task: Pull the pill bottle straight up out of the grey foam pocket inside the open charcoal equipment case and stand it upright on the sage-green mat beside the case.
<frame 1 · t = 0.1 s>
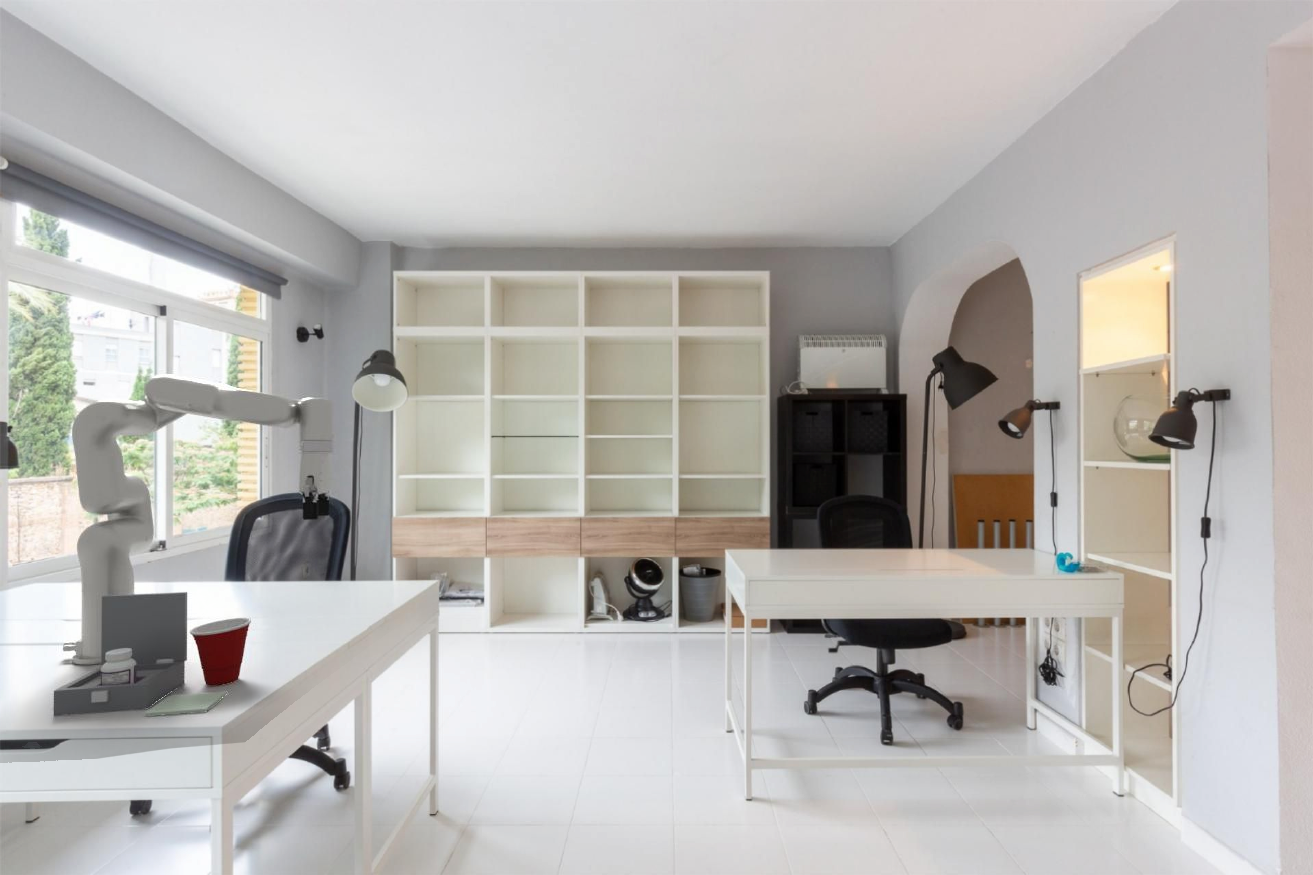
hand: (316, 517, 166), 31 cm above the table, tool pointing down, fingers open, 9 cm apart
pill bottle: (118, 702, 129), resting in equipment case
equipment case: (123, 698, 130), on the table
sage mat: (187, 705, 126), on the table
plastic cup: (220, 682, 139), on the table
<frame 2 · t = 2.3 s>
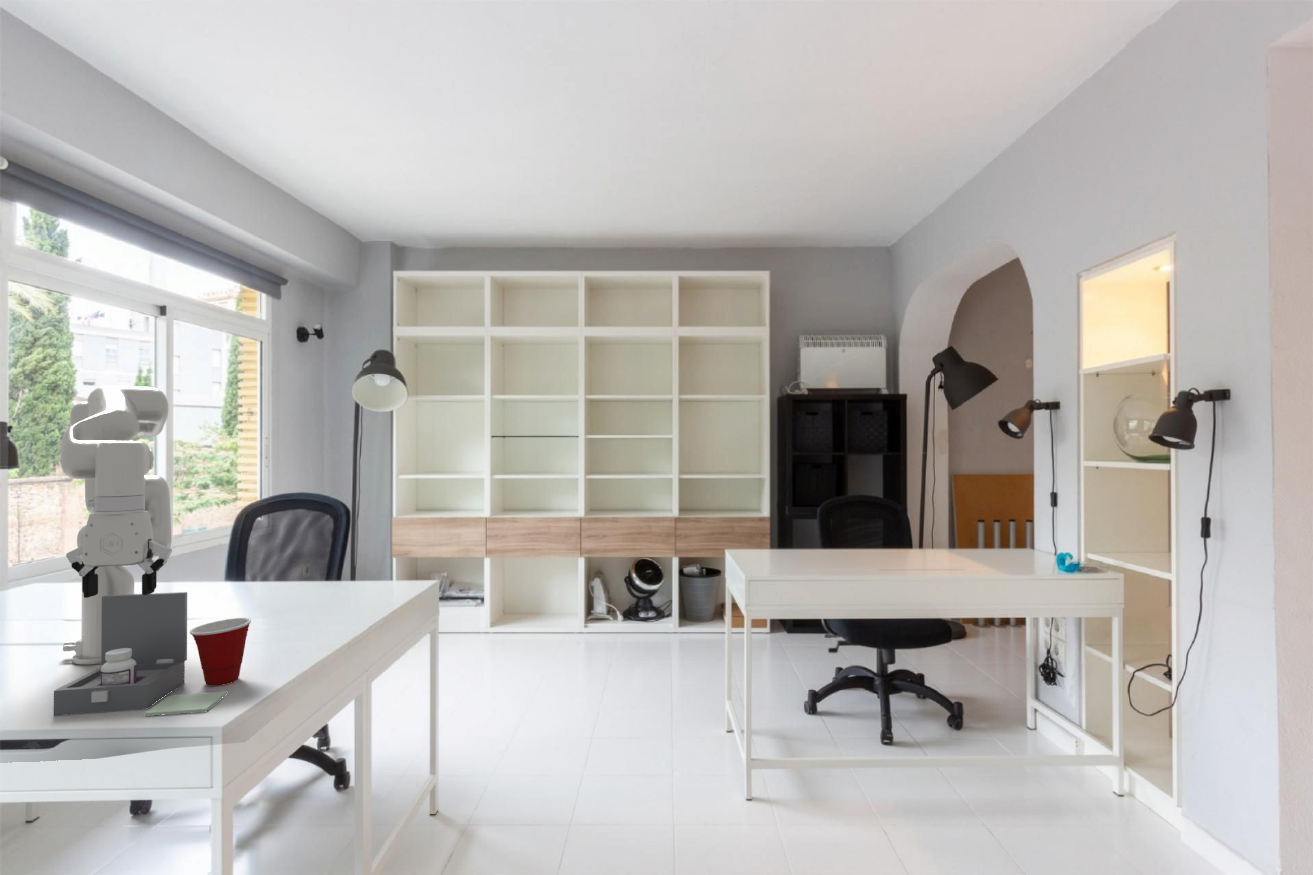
hand: (119, 594, 129), 20 cm above the table, tool pointing down, fingers open, 9 cm apart
nothing on the table moved.
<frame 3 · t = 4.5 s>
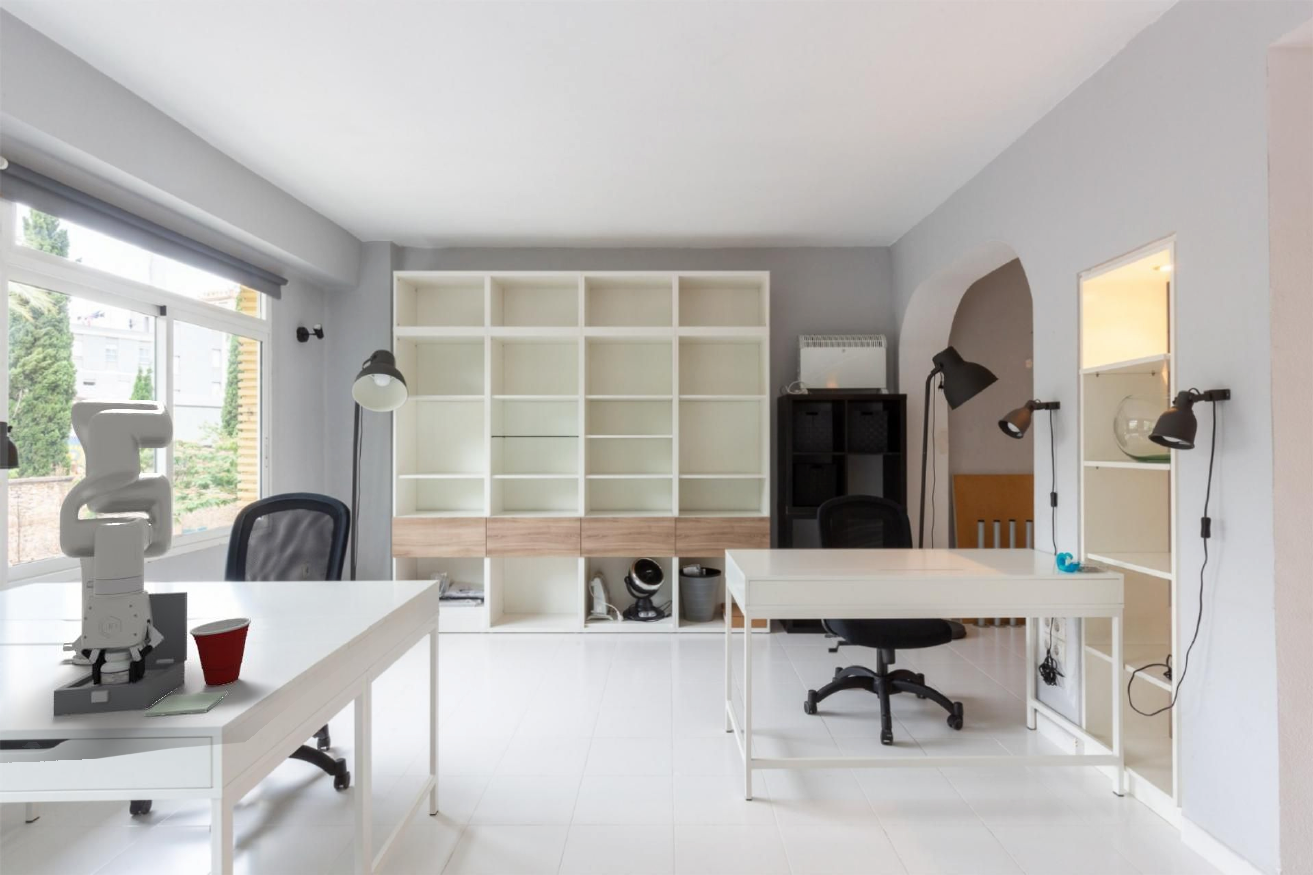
hand: (118, 680, 129), 4 cm above the table, tool pointing down, fingers closed on pill bottle, 5 cm apart
pill bottle: (118, 702, 129), resting in equipment case, touching gripper
everything else where it was.
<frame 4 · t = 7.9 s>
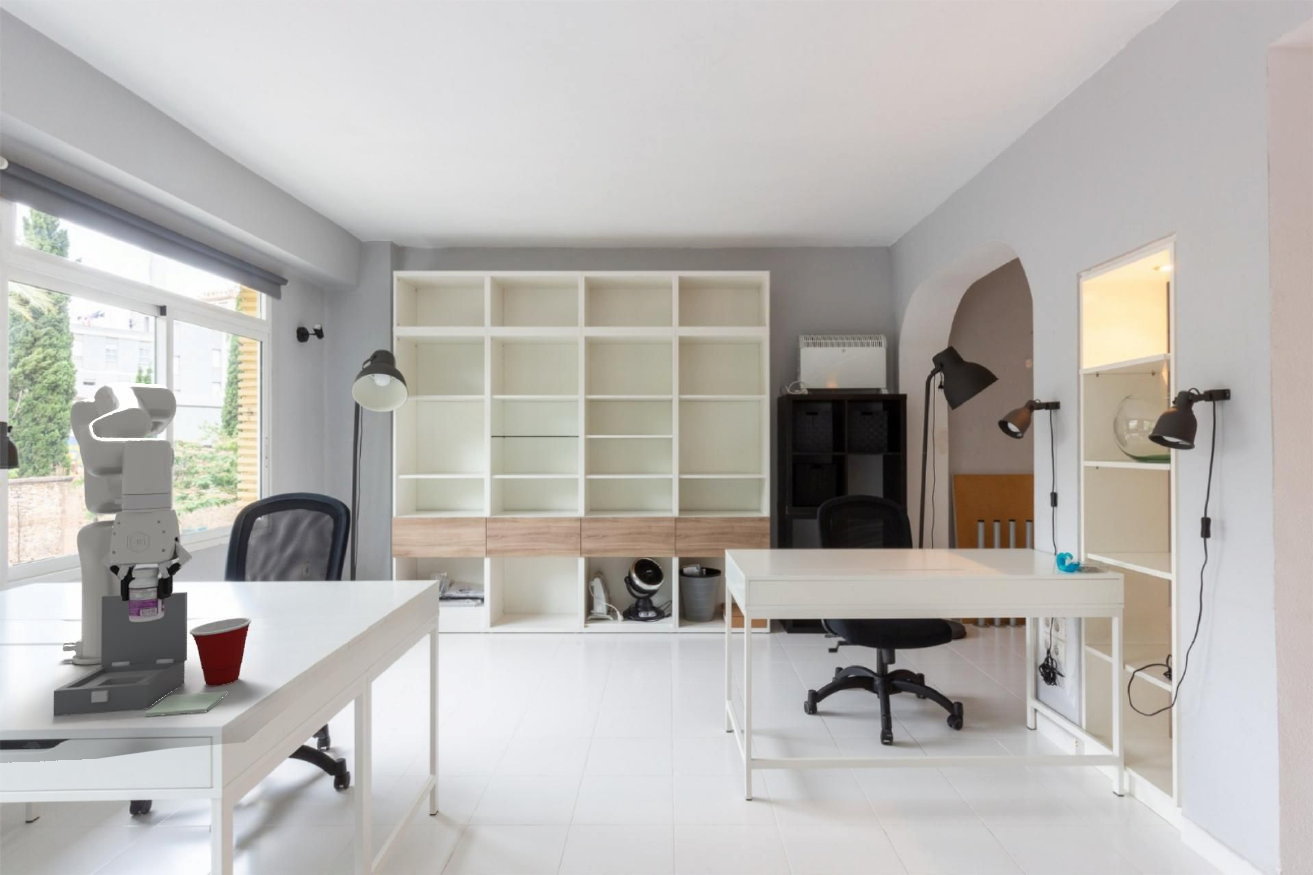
hand: (146, 597, 128), 20 cm above the table, tool pointing down, fingers closed on pill bottle, 5 cm apart
pill bottle: (146, 620, 128), point 16 cm above the table, touching gripper
everything else where it was.
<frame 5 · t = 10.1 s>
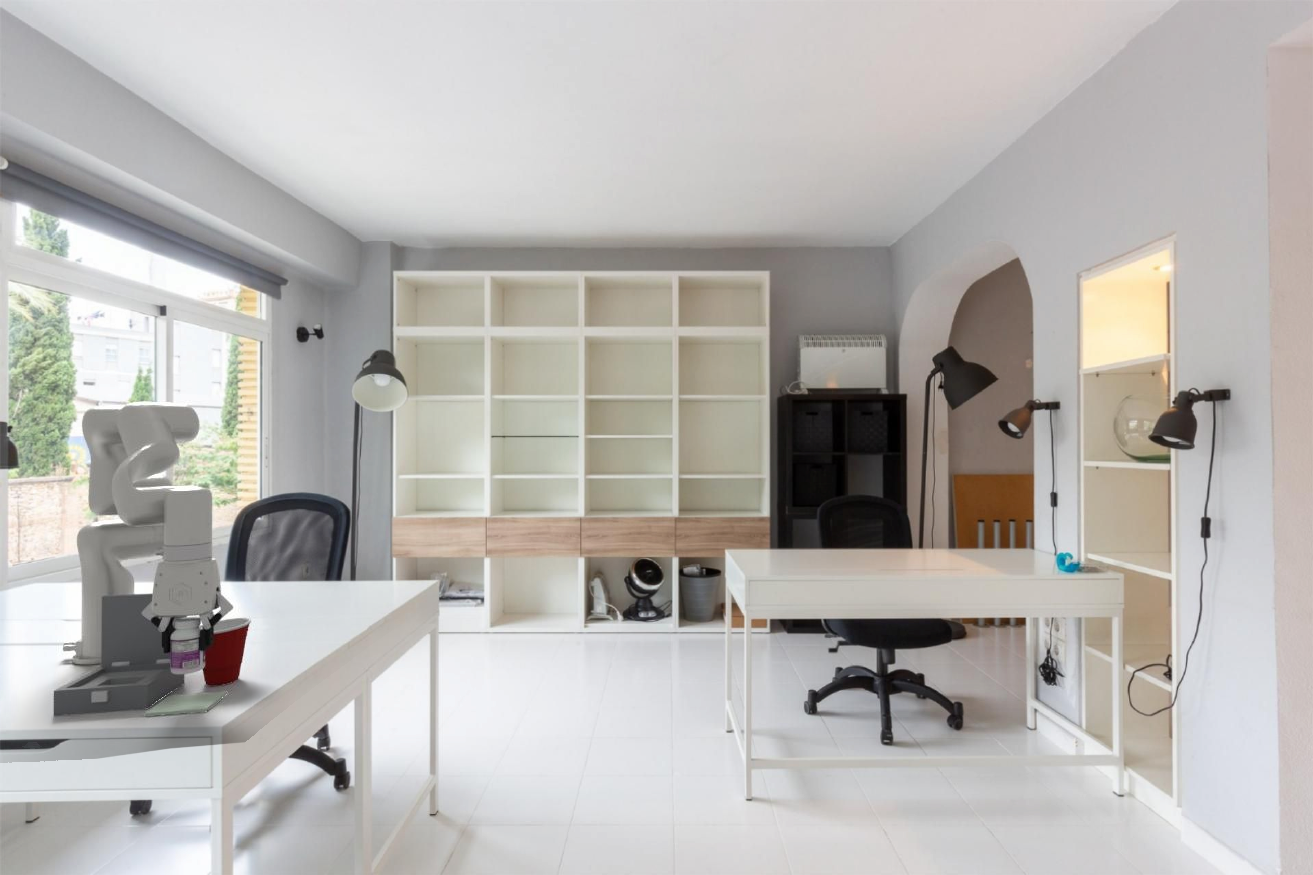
hand: (188, 649, 127), 10 cm above the table, tool pointing down, fingers closed on pill bottle, 5 cm apart
pill bottle: (187, 671, 126), point 6 cm above the table, touching gripper
everything else where it was.
when the fingers open (6 cm above the table, at t = 11.8 s): pill bottle drops 1 cm, resting on sage mat.
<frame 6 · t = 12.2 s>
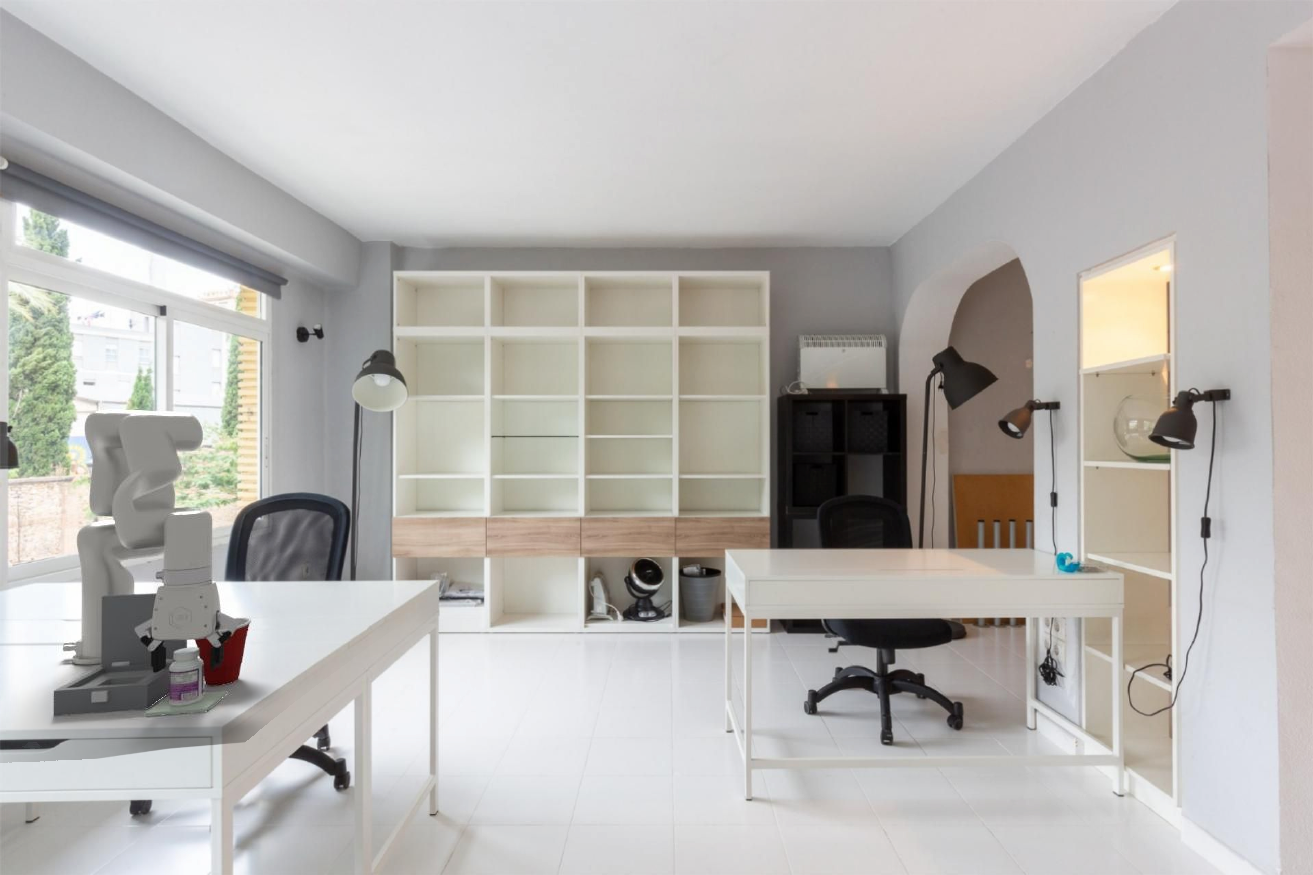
hand: (187, 668, 126), 7 cm above the table, tool pointing down, fingers open, 9 cm apart
pill bottle: (186, 702, 126), resting on sage mat
everything else where it was.
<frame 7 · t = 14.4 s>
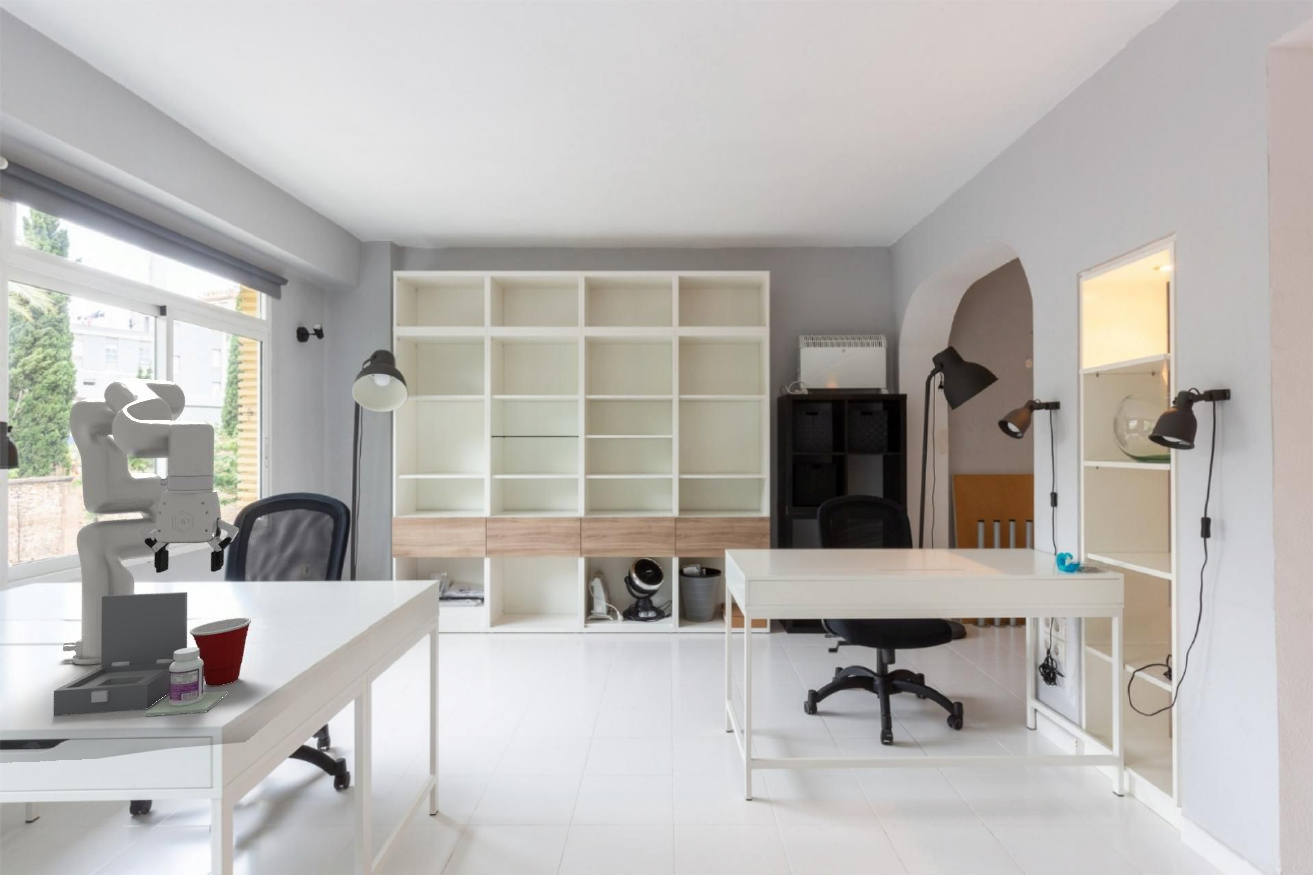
hand: (189, 571, 133), 24 cm above the table, tool pointing down, fingers open, 9 cm apart
nothing on the table moved.
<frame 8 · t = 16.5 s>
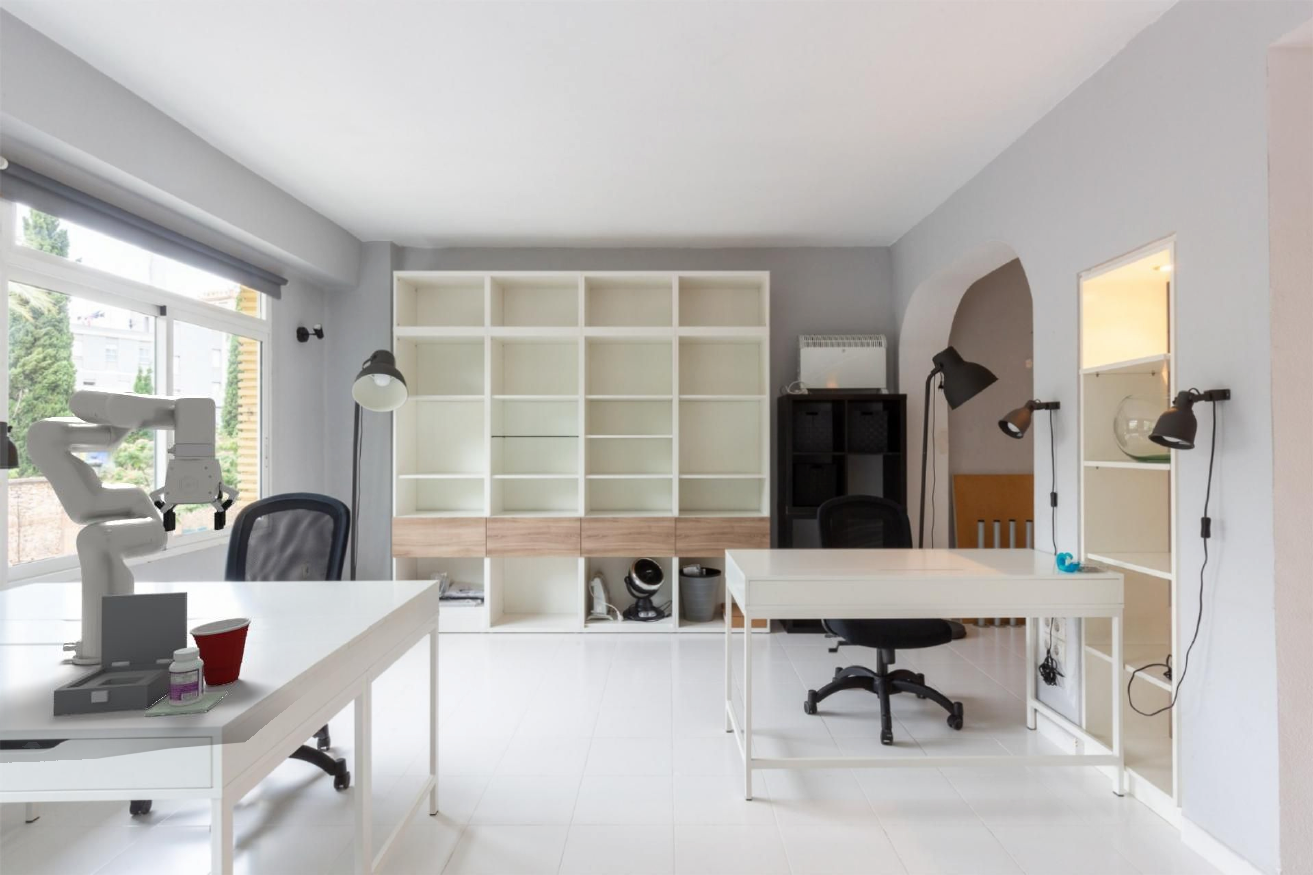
hand: (194, 530, 148), 30 cm above the table, tool pointing down, fingers open, 9 cm apart
nothing on the table moved.
at the end: pill bottle inside the target area on the sage mat (0.3 cm from its centre), point 0.4 cm above the sage mat's base; pill bottle tilted 0°; the gripper is holding nothing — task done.
